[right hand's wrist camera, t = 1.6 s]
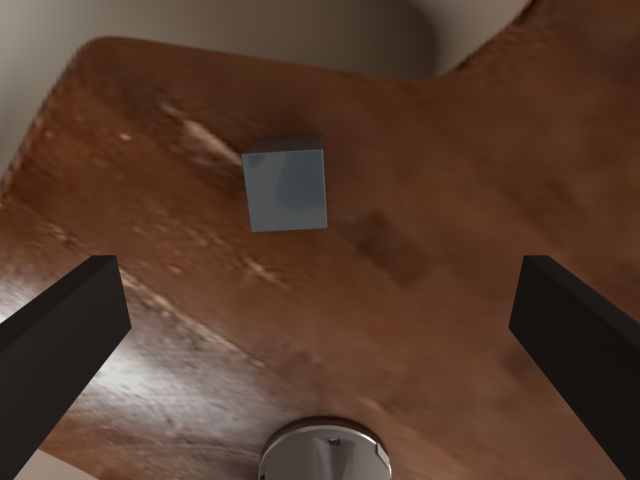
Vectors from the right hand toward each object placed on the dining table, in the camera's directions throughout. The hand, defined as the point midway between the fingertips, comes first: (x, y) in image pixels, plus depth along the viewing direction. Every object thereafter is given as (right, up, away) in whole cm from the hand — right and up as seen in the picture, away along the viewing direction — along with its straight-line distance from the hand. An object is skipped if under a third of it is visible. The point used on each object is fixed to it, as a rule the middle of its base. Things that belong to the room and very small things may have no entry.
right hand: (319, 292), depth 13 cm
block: (-2, +8, +20) cm, 22 cm away
